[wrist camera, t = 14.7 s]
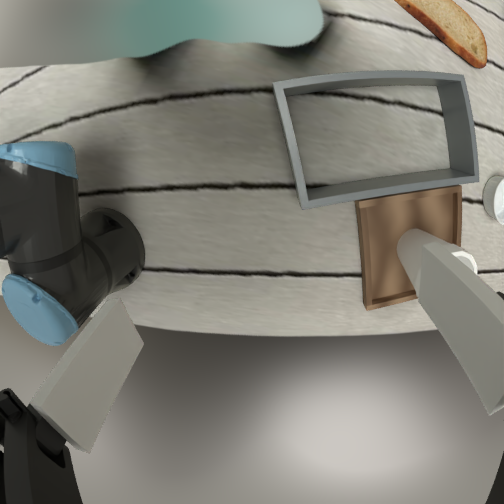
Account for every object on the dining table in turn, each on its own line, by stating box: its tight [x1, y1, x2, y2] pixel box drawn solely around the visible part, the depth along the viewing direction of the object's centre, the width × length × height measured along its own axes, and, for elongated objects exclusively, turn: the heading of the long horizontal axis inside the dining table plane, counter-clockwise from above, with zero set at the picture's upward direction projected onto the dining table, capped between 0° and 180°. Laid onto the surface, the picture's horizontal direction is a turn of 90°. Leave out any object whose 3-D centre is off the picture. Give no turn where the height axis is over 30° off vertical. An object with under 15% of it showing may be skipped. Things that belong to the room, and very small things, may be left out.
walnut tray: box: [355, 185, 462, 311], centre depth 40 cm, size 19×19×2 cm
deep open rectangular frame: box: [273, 71, 479, 210], centre depth 31 cm, size 28×16×7 cm, turn 104°
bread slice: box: [394, 0, 487, 68], centre depth 23 cm, size 18×18×4 cm
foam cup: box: [397, 229, 477, 298], centre depth 34 cm, size 10×9×13 cm
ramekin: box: [483, 176, 504, 225], centre depth 33 cm, size 9×9×4 cm
